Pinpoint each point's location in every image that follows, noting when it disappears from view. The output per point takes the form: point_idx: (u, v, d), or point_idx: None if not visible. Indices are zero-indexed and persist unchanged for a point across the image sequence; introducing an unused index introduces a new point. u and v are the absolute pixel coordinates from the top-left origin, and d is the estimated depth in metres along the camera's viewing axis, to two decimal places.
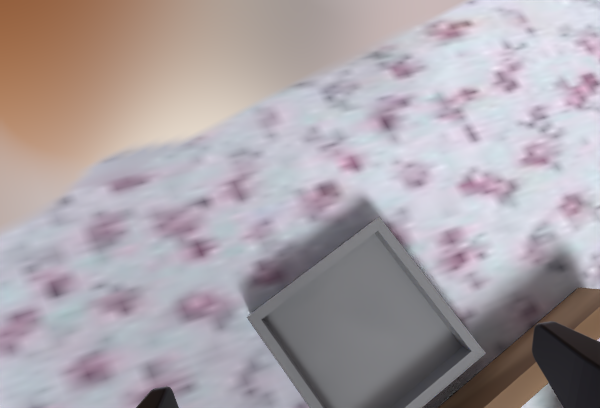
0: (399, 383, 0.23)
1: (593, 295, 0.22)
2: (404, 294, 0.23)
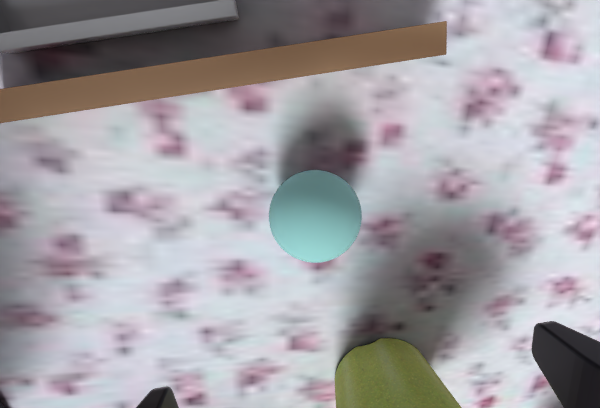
0: (110, 1, 0.15)
1: None
2: None
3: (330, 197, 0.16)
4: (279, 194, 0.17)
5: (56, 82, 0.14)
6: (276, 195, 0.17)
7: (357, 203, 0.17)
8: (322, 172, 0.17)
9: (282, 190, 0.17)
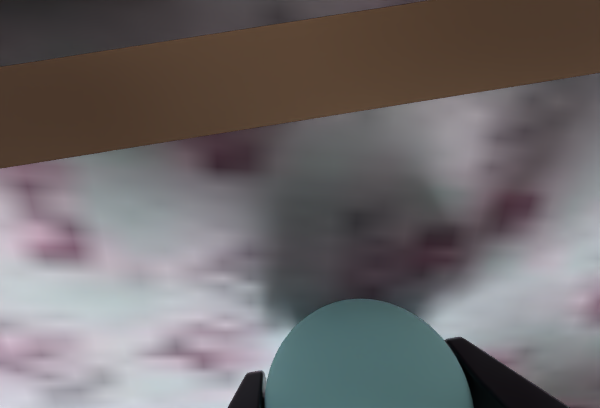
0: None
1: None
2: None
3: None
4: (287, 379, 0.07)
5: None
6: (280, 374, 0.07)
7: (469, 396, 0.07)
8: (386, 321, 0.07)
9: (295, 369, 0.07)
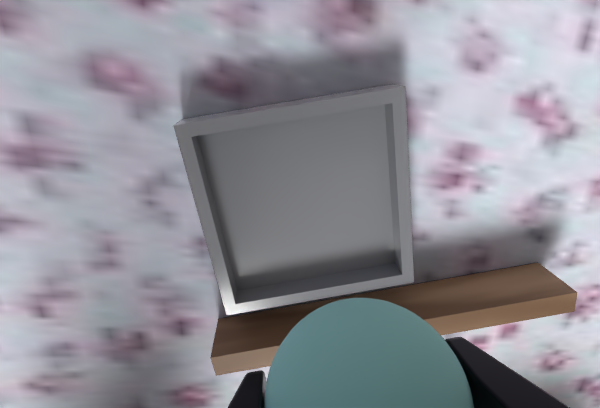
0: (313, 266, 0.20)
1: (549, 281, 0.20)
2: (372, 188, 0.19)
3: None
4: (288, 378, 0.07)
5: None
6: (280, 373, 0.07)
7: (470, 395, 0.07)
8: (387, 320, 0.07)
9: (295, 368, 0.07)
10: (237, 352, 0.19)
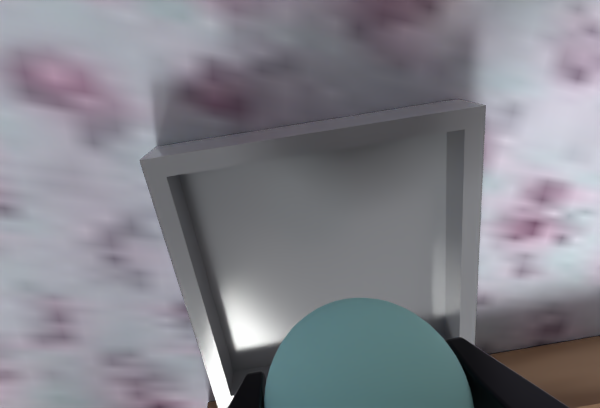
0: None
1: None
2: (422, 241, 0.14)
3: None
4: (287, 379, 0.07)
5: None
6: (280, 373, 0.07)
7: (470, 395, 0.07)
8: (386, 320, 0.07)
9: (294, 368, 0.07)
10: None
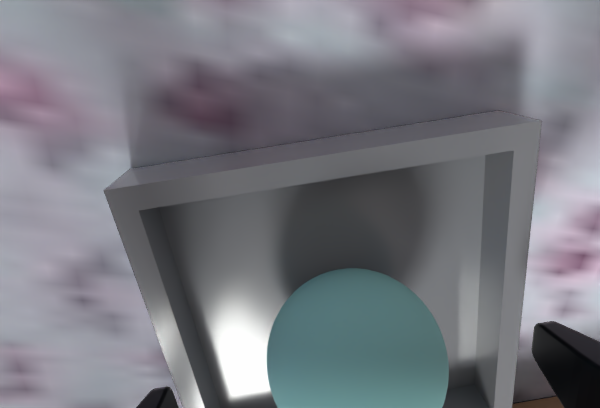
0: None
1: None
2: (451, 279, 0.11)
3: (398, 353, 0.07)
4: (287, 333, 0.08)
5: None
6: (281, 330, 0.09)
7: (444, 346, 0.08)
8: (372, 283, 0.09)
9: (293, 324, 0.08)
10: None
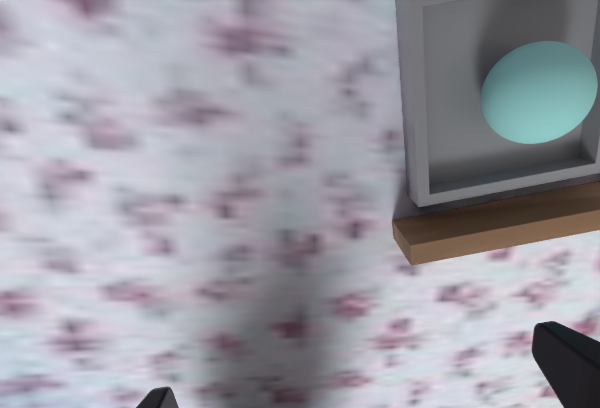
0: (499, 160, 0.20)
1: None
2: None
3: (581, 58, 0.15)
4: (513, 64, 0.16)
5: (486, 232, 0.19)
6: (506, 67, 0.16)
7: None
8: (551, 41, 0.16)
9: (516, 60, 0.16)
10: (436, 240, 0.19)
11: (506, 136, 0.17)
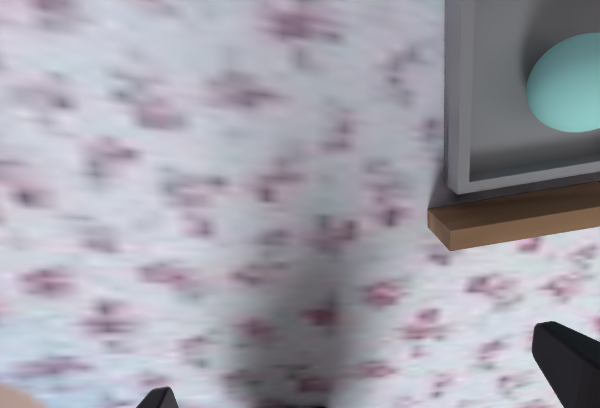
0: (535, 151, 0.21)
1: None
2: None
3: None
4: (567, 53, 0.16)
5: (524, 220, 0.19)
6: (559, 56, 0.16)
7: None
8: None
9: (569, 49, 0.16)
10: (476, 226, 0.19)
11: (554, 124, 0.17)
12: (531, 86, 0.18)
